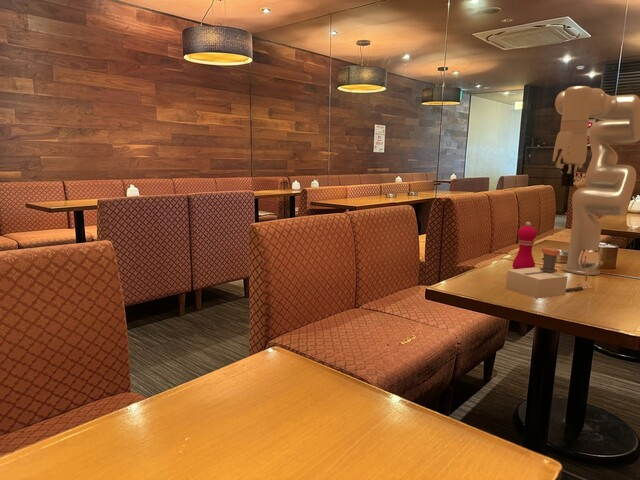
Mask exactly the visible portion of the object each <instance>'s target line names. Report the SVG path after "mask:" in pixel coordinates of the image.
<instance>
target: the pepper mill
mask: <svg viewBox="0 0 640 480" xmlns="http://www.w3.org/2000/svg"><path fill="white" fill-rule="evenodd" d="M517 236H518V238H519V239H518V244H519V245H518V246H519V248H518V252H517V254H516V255H515V258H514V259H513V261H512V266H511V267H512V268H513V269H523V268H533V267H535V268H536V261H535V260H534V256H533V252H532V250H533V246H534V245H535V239H536V238H537V236H538V234H537V230H536V228H535V227H533V226H532V223H531V222H530V221H526V222H525V225H524V226H521V227H520V228H519V229H518V231H517Z"/></svg>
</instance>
